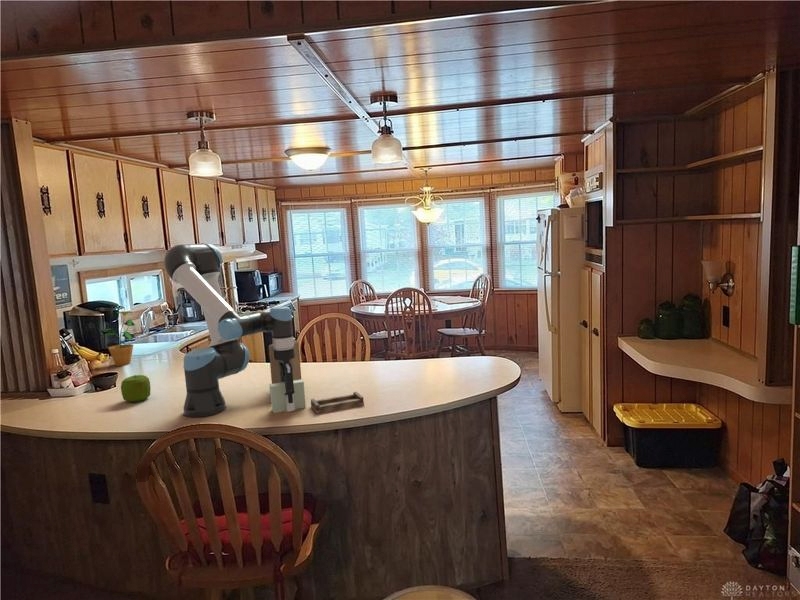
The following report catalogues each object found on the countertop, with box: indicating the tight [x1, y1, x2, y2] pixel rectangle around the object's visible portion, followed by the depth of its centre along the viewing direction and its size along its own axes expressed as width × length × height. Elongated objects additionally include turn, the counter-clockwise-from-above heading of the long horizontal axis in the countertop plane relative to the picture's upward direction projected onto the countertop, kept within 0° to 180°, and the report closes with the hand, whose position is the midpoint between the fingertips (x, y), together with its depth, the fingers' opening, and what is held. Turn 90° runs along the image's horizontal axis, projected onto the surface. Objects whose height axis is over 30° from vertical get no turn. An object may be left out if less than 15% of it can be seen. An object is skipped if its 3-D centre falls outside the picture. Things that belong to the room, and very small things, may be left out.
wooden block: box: [268, 339, 302, 384], centre depth 226 cm, size 10×10×20 cm
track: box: [310, 391, 365, 415], centre depth 199 cm, size 18×9×3 cm, turn 113°
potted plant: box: [98, 311, 136, 367], centre depth 291 cm, size 18×19×30 cm
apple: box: [120, 374, 151, 403], centre depth 221 cm, size 11×11×11 cm
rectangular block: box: [269, 378, 307, 414], centre depth 198 cm, size 12×4×10 cm, turn 113°
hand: (289, 408), depth 199 cm, fingers open, 7 cm apart
